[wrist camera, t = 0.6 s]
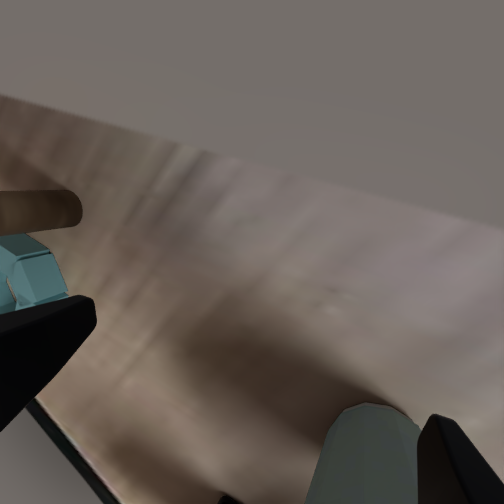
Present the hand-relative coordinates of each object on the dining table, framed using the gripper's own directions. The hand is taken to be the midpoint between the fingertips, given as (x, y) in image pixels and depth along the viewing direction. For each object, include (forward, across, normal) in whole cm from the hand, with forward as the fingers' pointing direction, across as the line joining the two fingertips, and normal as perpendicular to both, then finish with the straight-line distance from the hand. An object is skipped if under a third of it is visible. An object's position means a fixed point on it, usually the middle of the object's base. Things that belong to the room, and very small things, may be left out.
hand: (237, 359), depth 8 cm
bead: (+12, +27, +13) cm, 32 cm away
